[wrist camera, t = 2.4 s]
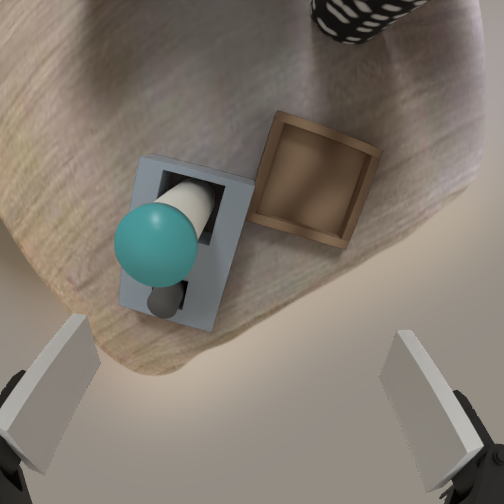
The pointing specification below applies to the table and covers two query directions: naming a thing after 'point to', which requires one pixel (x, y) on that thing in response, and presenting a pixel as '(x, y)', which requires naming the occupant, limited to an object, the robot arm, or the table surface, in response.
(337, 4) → the spotted tube
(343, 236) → the tray
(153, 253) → the ball
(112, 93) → the table surface
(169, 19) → the table surface
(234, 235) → the housing
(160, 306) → the plunger
